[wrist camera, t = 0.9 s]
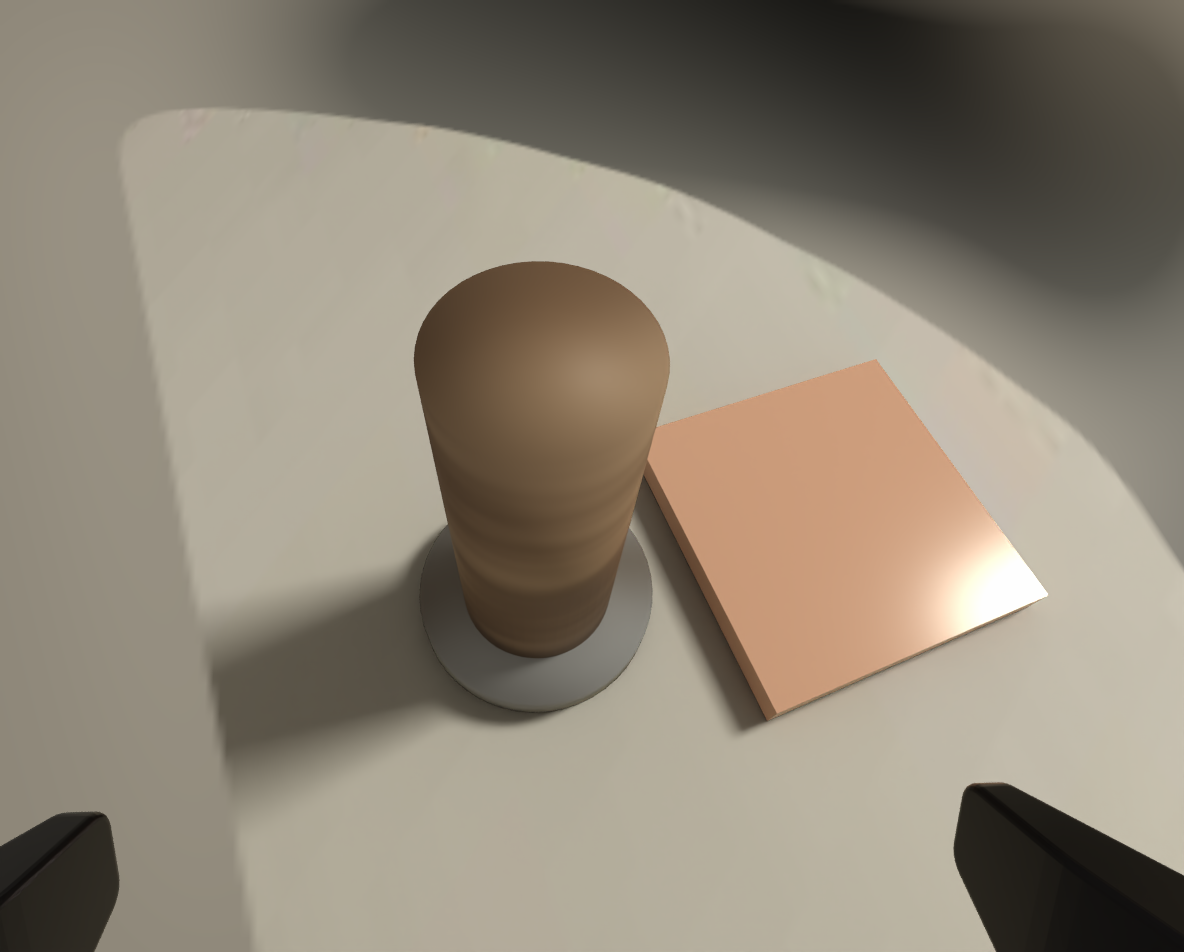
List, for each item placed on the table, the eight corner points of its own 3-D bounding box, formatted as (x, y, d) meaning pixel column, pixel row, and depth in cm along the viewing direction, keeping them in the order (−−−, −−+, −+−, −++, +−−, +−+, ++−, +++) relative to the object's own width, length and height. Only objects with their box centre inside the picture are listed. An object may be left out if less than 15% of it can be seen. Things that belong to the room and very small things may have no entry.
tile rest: (1029, 605, 24) (1048, 595, 23) (767, 721, 22) (777, 714, 21) (865, 375, 29) (875, 359, 28) (631, 449, 26) (634, 434, 25)
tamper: (685, 661, 22) (819, 458, 12) (463, 750, 21) (396, 602, 10) (597, 473, 25) (644, 183, 15) (397, 538, 24) (295, 259, 13)
